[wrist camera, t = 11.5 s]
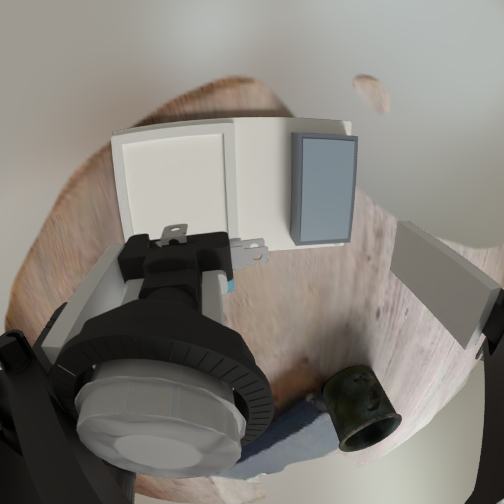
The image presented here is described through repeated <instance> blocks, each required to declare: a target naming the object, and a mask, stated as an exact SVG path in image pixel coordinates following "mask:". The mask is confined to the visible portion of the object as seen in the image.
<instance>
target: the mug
mask: <svg viewBox="0 0 504 504" xmlns="http://www.w3.org/2000/svg"><path fill="white" fill-rule="evenodd" d="M323 398H324V401H325V403H326V406H327V409H328V411H329V414H330V417H331V420H332V422H333V425H334V428H335V430H336V433H337V436H338V438H339V441H340V443H339V449H340V450H341V451H344V452H353V451H358V450H362V449H365V448H367V447H370V446H372V445H374V444H376V443H378V442H380V441H382V440H383V439H385V438H386V437H388V436H389V435H390V434H391V433H393V432H394V431H395V430H396V429H397V427H398V426H399V425H400V423H401V421H402V417H401V415H400V414H397V413H396V411H395V410H394V408H393V406H392V404H391V402H390V400H389V399H388V397H387V395H386V393H385V391H384V390H383V388H382V386H381V384H380V382H379V381H378V379H377V377H376V375H375V373H374V372H373V370H372V369H370V368H368V367H366V366H354V367H351V368H348V369H345V370H343V371H341V372H339V373H338V374H336V375H335V376H334V377H332V378H331V379H330V380H329V381H328V382H327V384H326V385H325V387H324V390H323Z"/></svg>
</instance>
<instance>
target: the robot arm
mask: <svg viewBox="0 0 504 504" xmlns="http://www.w3.org/2000/svg"><path fill="white" fill-rule="evenodd" d="M124 247H125V246H124V244H118V245H109V246H108V248H107V249H106V250H105V251H104V253H103V254H102V255H101V257H100V258H99V259H98V261H97V262H96V263H95V265H94V266H93V267H92V269H91V270H90V271H89V273H88V274H87V276H86V277H85V278H84V280H83V281H82V283H81V284H80V285H79V287H78V288H77V290H76V291H75V293H74V294H73V296H72V297H71V299H70V300H69V302H65V303H64V304H62V305H61V306H60V307H59V308H58V309H57V310H56V311H55V312H54V314H53V315H52V317H51V318H50V321H48V323H47V324H46V326H45V328H44V329H43V331H42V332H41V334H40V335H39V337H38V339H37V340H36V342H35V344H34V345H33V347H32V348H31V346H30V345H29V343H28V341H27V339H26V337H25V336H24V334H23V332H22V331H20V330H11V331H8V332H6V333H4V334H3V335H1V336H0V367H1V368H2V370H0V504H134V498H135V482H136V472H133V471H129V470H126V469H122V468H120V467H118V466H115V465H113V464H111V463H109V462H107V461H106V460H104V459H102V458H100V457H98V456H96V455H95V454H94V453H93V452H92V451H90V450H89V449H87V448H86V446H85V445H84V444H83V443H82V442H81V441H80V438H79V434H78V433H77V431H76V429H77V423H76V422H75V421H74V420H73V419H72V418H71V417H70V416H69V415H68V413H67V412H66V411H65V410H64V409H63V407H62V406H61V404H60V403H59V401H58V399H57V397H56V395H55V393H54V390H53V386H52V379H51V375H52V369H53V366H54V363H55V361H56V359H57V356H58V354H59V352H60V351H61V349H62V347H63V346H64V345H65V344H66V343H67V342H68V341H69V340H70V339H71V338H73V337H74V336H76V335H77V334H79V333H80V331H81V329H82V327H83V325H84V323H85V322H86V321H87V320H88V319H91V318H93V317H95V316H98V315H100V314H102V313H105V312H107V311H109V310H112V309H114V308H116V307H119V306H121V303H122V301H123V298H124V296H125V293H124V290H123V288H124V285H125V284H124V280H123V277H122V274H121V270H120V267H119V263H118V260H117V258H118V256H119V254H120V253H121V251H122V250H123V248H124ZM390 270H391V271H392V272H393V273H394V274H395V275H396V276H397V277H398V278H399V279H400V280H401V281H402V282H403V283H404V284H405V285H406V286H407V287H408V288H409V289H410V290H411V291H412V292H413V293H414V294H415V296H416V297H417V298H418V299H419V300H420V301H421V302H422V303H423V304H424V305H425V306H426V307H427V308H428V309H429V310H430V311H431V312H432V313H433V315H434V316H435V317H436V318H437V319H438V320H439V321H440V322H441V323H442V324H443V326H444V327H445V328H446V329H447V330H448V331H449V332H450V333H451V335H452V336H453V337H454V338H455V339H456V340H457V341H458V343H459V344H460V345H461V346H462V347H463V348H464V350H466V349H468V348H470V347H472V346H474V345H476V344H477V342H478V340H479V338H480V336H481V334H482V333H483V334H484V335H485V336H486V338H485V340H484V342H483V343H482V345H481V347H480V349H479V351H478V353H477V355H476V358H475V359H478V358H479V356H480V354H483V356H482V358H481V359H480V360H482V361H484V371H485V411H484V413H485V414H484V428H483V439H482V448H481V455H480V462H479V468H478V474H477V479H476V484H475V488H474V491H473V492H472V494H471V496H470V497H469V498H468V500H467V501H466V502H465V504H504V290H503V289H502V288H501V287H502V286H501V285H499V284H498V283H497V282H496V281H494V280H493V279H492V278H491V277H489V276H488V275H487V274H485V273H484V272H483V271H482V270H480V269H479V268H478V267H476V266H475V265H474V264H472V263H471V262H470V261H468V260H467V259H466V258H464V257H463V256H461V255H460V254H459V253H457V252H456V251H454V250H453V249H451V248H450V247H449V246H447V245H446V244H444V243H443V242H441V241H440V240H438V239H437V238H435V237H434V236H432V235H431V234H429V233H428V232H426V231H425V230H423V229H421V228H420V227H418V226H417V225H415V224H414V223H412V222H410V221H398V225H397V232H396V238H395V244H394V250H393V256H392V261H391V267H390ZM93 368H95V365H93Z"/></svg>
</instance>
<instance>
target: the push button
mask: <svg viewBox="0 0 504 504" xmlns="http://www.w3.org/2000/svg"><path fill="white" fill-rule="evenodd" d="M174 228H180V229H178V230H175V231H171V229H174ZM187 228H188V224H176V225H169V226H166V227H164V230H163V232H162V237H160V239H154V240H150V239H149V234H146V233H144V234H137V235H133V236H131V237H129V239H128V240H127V242H126V243H125V245H124V246H125V247H124V248H123V250H122V251H121V253H120V254H119V256H118V258H117V260H118V263H119V267H120V270H121V274H122V277H123V280H124V284H125V285H124V288H123V290H124V293H125V296H124V298H123V301H122V303H121V306H119V307H116V308H114V309H112V310H109V311H107V312H105V313H102V314H100V315H98V316H95V317H93V318H91V319H88V320H87V321H86V322H85V323H84V325H83V327H82V329H81V331H80V333H79V334H77V335H76V336H74V337H73V338H71V339H70V340H69V341H68V342H67V343H66V344H65V345H64V346H63V347H62V349H61V351H60V352H59V354H58V356H57V359H56V361H55V363H54V366H53V369H52V375H51V379H52V386H53V390H54V393H55V395H56V397H57V399H58V401H59V403H60V404H61V406H62V407H63V409H64V410H65V411H66V412H67V413H68V415H69V416H70V417H71V418H72V419H73V420H74V421H75V422H76V423H77V429H76V431H77V433H78V434H79V438H80V441H81V442H82V443H83V444H84V445H85V446H86V448H87V449H89V450H90V451H92V452H93V453H94V454H95V455H96V456H98V457H100V458H102V459H104V460H106V461H107V462H109V463H111V464H113V465H115V466H118V467H120V468H122V469H126V470H129V471H133V472H136V473H139V474H143V475H148V476H154V477H164V478H176V479H182V478H194V477H203V476H209V475H213V474H215V473H218V472H221V471H223V470H226V469H229V468H230V467H231V466H233V465H235V463H236V461H237V460H238V459H239V458H240V457H241V453H240V452H241V447H243V446H245V445H247V444H249V443H250V442H252V441H253V440H255V439H256V438H257V437H259V436H260V435H261V434H262V433H263V432H264V431H265V430H266V428H267V427H268V426H269V424H270V422H271V420H272V418H273V415H274V409H275V405H274V399H273V395H272V391H271V388H270V384H269V382H268V380H267V378H266V376H265V375H264V373H263V372H262V371H261V369H260V368H259V367H258V366H257V365H256V363H255V359H254V356H253V355H252V353H251V351H250V350H249V348H248V346H247V345H246V343H245V342H244V340H243V338H242V337H241V335H240V334H239V333H238V332H236V331H234V330H232V329H230V328H228V327H226V326H225V323H224V314H223V305H222V295H223V294H226V293H229V292H232V291H233V290H234V278H233V270H236V269H245V265H253V264H261V263H267V262H268V261H269V251H268V247H267V246H265V240H264V239H263V238H259V239H250V240H241V238H232V239H229V236H228V233H227V232H224V231H219V232H211V233H202V234H194V235H186V233H187ZM254 243H255V244H258V247H253V248H250V246H251V245H252V244H254ZM259 254H262V256H261V258H260V259H254V258H253V255H259ZM93 365H95V368H93ZM232 387H233V388H234V390H233V389H232Z"/></svg>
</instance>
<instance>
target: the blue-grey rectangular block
mask: <svg viewBox="0 0 504 504" xmlns="http://www.w3.org/2000/svg"><path fill="white" fill-rule="evenodd" d="M357 148H358V136H350V135H339V134H323V133H298V132H291V214H290V238H291V239H292V241H293V242H294V244H295V245H296V246H302V245H317V244H332V243H346V242H350V239H351V230H352V220H353V210H354V199H355V186H356V169H357Z"/></svg>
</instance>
